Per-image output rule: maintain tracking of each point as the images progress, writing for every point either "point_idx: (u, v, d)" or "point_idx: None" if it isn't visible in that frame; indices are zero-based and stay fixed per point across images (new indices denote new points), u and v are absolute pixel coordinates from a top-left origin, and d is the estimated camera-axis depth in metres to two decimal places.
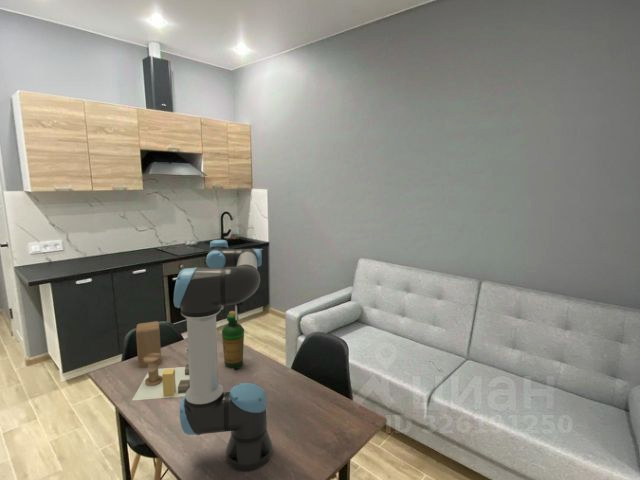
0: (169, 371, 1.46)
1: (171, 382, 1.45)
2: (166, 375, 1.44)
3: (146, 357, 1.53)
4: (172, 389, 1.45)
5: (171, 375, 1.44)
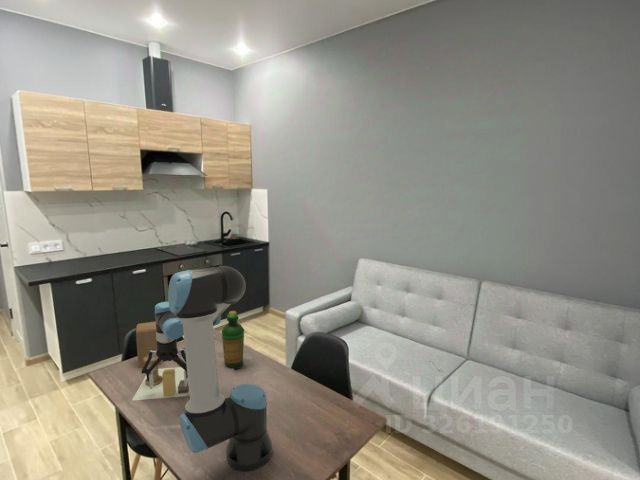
0: (169, 371, 1.46)
1: (171, 382, 1.45)
2: (166, 375, 1.44)
3: (146, 357, 1.53)
4: (172, 389, 1.45)
5: (171, 375, 1.44)
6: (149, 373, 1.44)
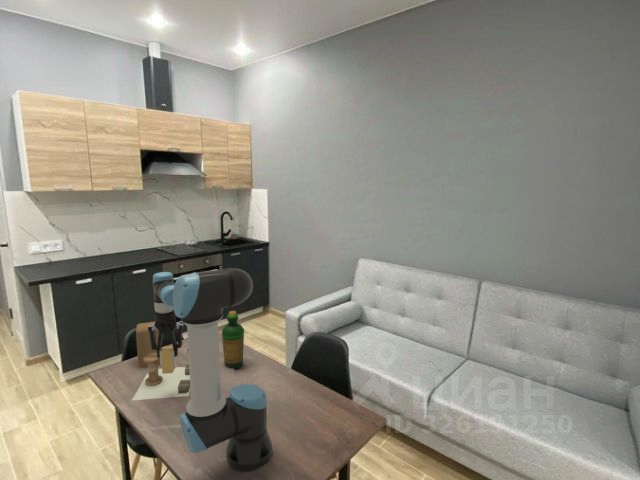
0: (168, 348, 1.44)
1: (170, 359, 1.43)
2: (165, 352, 1.42)
3: (146, 357, 1.53)
4: (171, 366, 1.44)
5: (170, 352, 1.42)
6: (159, 349, 1.43)
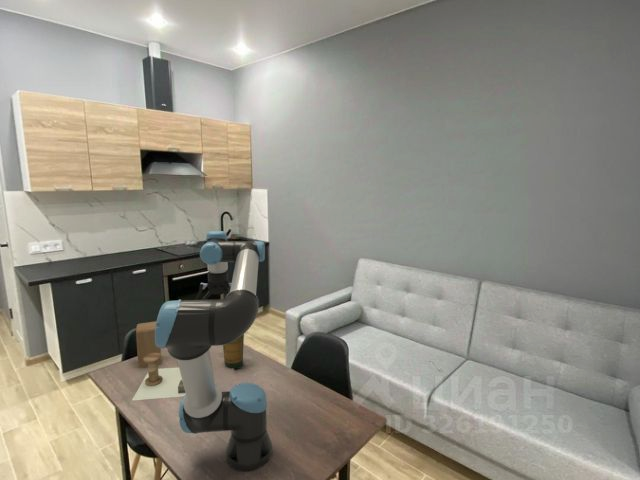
0: None
1: None
2: None
3: (146, 357, 1.53)
4: None
5: None
6: None
